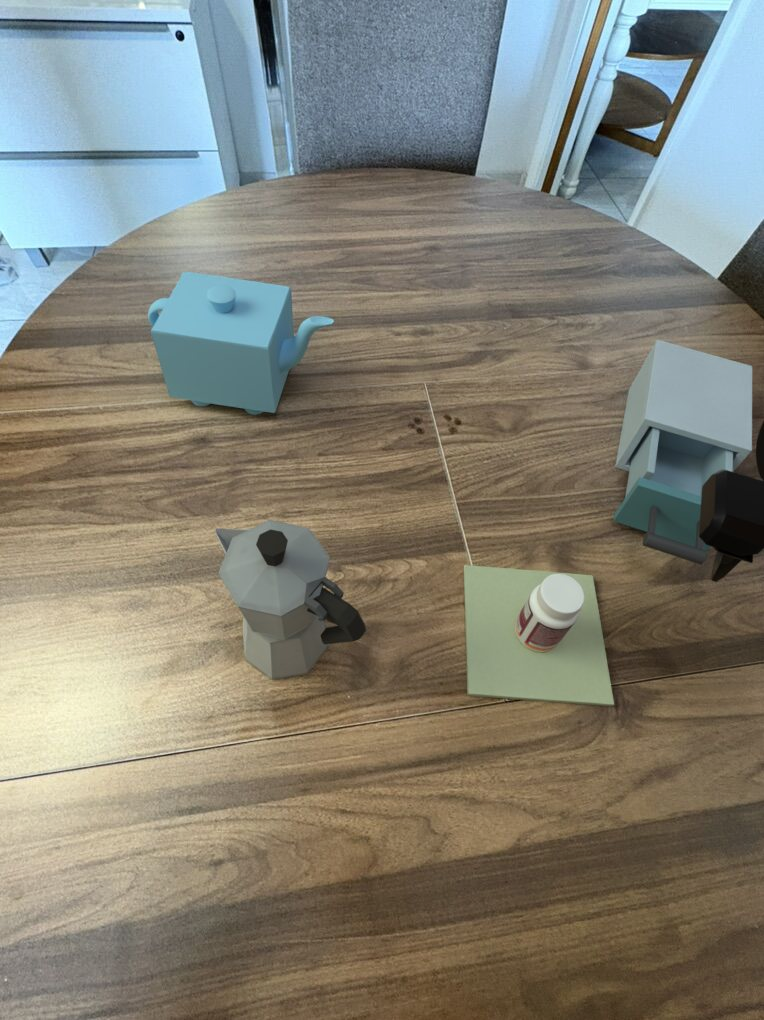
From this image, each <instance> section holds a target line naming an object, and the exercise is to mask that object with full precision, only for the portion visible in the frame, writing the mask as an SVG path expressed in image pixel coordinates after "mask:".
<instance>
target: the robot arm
mask: <svg viewBox="0 0 764 1020" xmlns="http://www.w3.org/2000/svg"><path fill="white" fill-rule="evenodd" d="M755 463H756V467H757V471H758V474H759V476H760V478H761V479H757V478H754V477H751V476H748V475H745V474H742V473H738V472H735V471H734V472H731V471H728V470H723V469H721V470H719V471H717V472H715V473H713V474H712V475H711V476H710V478H709V479H708V480H707V481H706V482H705V484H704V485H703V486H702V495H701V511H700V526H699V537H700V538H701V539H702V541H703V542H704V543H705V544H706V545H709V546H712V547H711V548H712V549H713V550H714V551H715V552H716V553H715V557H714V559H713V560H714V561H713V565H712V569H711V577H710V579H711V582H715V583H717V582H718V581H720V580H722V579H723V578H725V577H726V576H727V575H728V574H729V573H730V572H731V571H732V570H733V569H734V568H735V567H737V566H738V564H740V563H741V562H742V561H743V562H746V563H749V564H753V563H754V555H759V554H760V553H761V552H762V551H763V550H764V420H763V421H762V424H761V426H760V427H759V430H758V434H757V438H756V444H755Z"/></svg>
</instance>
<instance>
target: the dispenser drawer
mask: <svg viewBox="0 0 764 1020" xmlns="http://www.w3.org/2000/svg"><path fill="white" fill-rule="evenodd" d="M721 469H723V470H728V471H731V472H733V451H731V450H728V449H724V448H721V447H718V446H715V445H711V444H708V443H705V442H701V441H698V440H695V439H691V438H688V437H685V436H681V435H678V434H675V433H671V432H668V431H665V430H661V429H658V428H655V427H651V426H649V428H648V429H647V431H646V432H645V434H644V436H643V437H642V439H641V440H640V442H639V444H638V445H637V447H636V448H635V450H634V451H633V453H632V458H631V464H630V471H629V472H628V478H627V484H626V491H625V497H624V499H623V500H622V502H621V503H620V504H619V506H618V508H617V509H616V511H615V512H614V514H613V519H612V520H613V522H614V523H618V524H621V525H623V526H627V527H630V528H632V529H636V530H640V531H643V532H645V534H644V536H643V538H642V547H646V548H650V549H653V550H655V551H659V552H661V553H664V554H668V555H672V556H674V557H677V558H679V559H682V560H686V561H690V562H692V563H695V564H699V565H704V563H705V562H706V560H707V557H708V550H710V549H711V548H713V547H712V546H709V545H706V544H705V543H704V542H703V541H702V539H701V538H700V537H699V526H700V511H701V495H702V486H703V485H704V484H705V482H706V481H707V480H708V479H709V478H710V476H711V475H712V474H713V473H715V472H717V471H719V470H721Z"/></svg>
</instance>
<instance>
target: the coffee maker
mask: <svg viewBox="0 0 764 1020" xmlns="http://www.w3.org/2000/svg"><path fill="white" fill-rule="evenodd" d="M214 533H215V535H216V537H217V540H218V542H219V544H220V546H221V548H222V551H223V553H224V554H225V556H224V558H223V559H222V563H221V565H220V568H219V570H218V576H219V577H220V579H221V581H222V582H223V584H224V586H225V588H226V589H227V591H228V593H229V594H230V595H229V596H231V598H232V600H233V601H234V603H235V605H236V607H237V608H238V609H239V611H240V612H241V614H242V618H243V619H242V627H241V629H242V643H243V655H244V656H243V657H244V661H245V662H247V663H248V665H249V664H250V666H252V667H254V668H255V669H256V670H258V671H259V672H260V673H261V674H263V675H264V676H265V677H267V678H268V679H270V680H271V681H274V680H281V679H285V678H286V679H287V678H292V677H298V676H304V675H308V674H309V673H310V672H311V670H312V669H313V668H314V666H315V665H316V664H317V663H318V661H319V660H320V659H321V658H322V657H323V655H324V654H325V652H326V651H327V650H328V648H329V645H333V644H344V643H353V642H356V641H359V640H361V639H362V638H363V636H364V634H366V632H367V626H366V624H365V622H364V620H363V618H362V616H361V614H360V613H359V611H358V610H357V608H355V606H353V605H352V604H351V603H349V602H348V601H346V600H345V599H343V597H344V593H345V592H344V591H343V590H342V589H341V588H340V587H339V586H338V585H337V584H336V583H335V582H334V581H332V580H331V579H329V578H328V577H327V572H328V570H329V569H328V568H329V565H330V561H331V557H330V556H329V554H328V552H327V551H326V550H325V548H324V547H323V545H322V544H321V542H320V541H319V540H318V539H317V537H316V535H315V534H314V533H313V531H312V530H311V528H310V527H307V526H301V525H297V524H293V523H287V522H284V521H283V522H282V521H279V520H273V519H267V521H264V522H262V523H260V524H258V525H256V526H254V527H252V528H247V529H246V528H245V529H244V528H224V527H223V528H221V527H219V528H218V527H217V528H215V529H214ZM326 621H327V622H329V623H332V624H333V625H334V626H329V627H326Z"/></svg>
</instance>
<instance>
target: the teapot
mask: <svg viewBox="0 0 764 1020" xmlns="http://www.w3.org/2000/svg"><path fill="white" fill-rule="evenodd" d="M292 296H293V295H292V288H291V286H286V285H280V284H273V283H268V282H260V281H254V280H247V279H241V278H234V277H227V276H220V275H213V274H208V273H207V274H206V273H200V272H192V271H186V270H185V271H184V270H183V271H182V274H181V275H180V277H179V280H178V281H177V283H176V285H175V286H174V288H173V290H172V292H171V293H170V295H169V297H161V298H159V299H157V300H154V302H152V304H151V305H150V307H149V309H148V312H147V319H148V322H149V324H150V326H151V327H152V328H151V329H150V335H151V339H152V341H153V344H154V348H155V352H156V355H157V358H158V362H159V365H160V369H161V372H162V376H163V380H164V382H165V386H166V389H167V393H168V396H169V398H173V399H178V400H179V399H180V400H185V401H186V400H187V401H191V402H192V404H193V405H195V406H198V407H207V406H209V405H211V404H212V405H219V406H224V407H225V406H226V407H233V408H238V409H239V408H240V409H244V411H245V412H246V413H248V414H250V415H260V414H262V413H265V412H266V413H272V414H275V413H276V411H277V408H278V405H279V402H280V399H281V396H282V393H283V390H284V387H285V384H286V381H287V378H288V375H289V372H290V370H291V369H293V368H295V367H296V366H297V365H298V364H299V363H301V361H302V359H304V356H305V354H306V351H307V350H308V346H309V344H310V340H311V338H312V337H313V335H314V334H315V332H317V330H319V329H322V328H324V327H328V326H331V325H332V324H334V322H335V320H334V319H333V318H331V317H328V316H323V315H316V316H310V317H308V318H306V319H304V320H303V321H302V322H301V324H300V325H299V327H298V330H297V332H296V334H295V333H294V332H295V331H294V330H295V329H294V314H293V312H294V311H293V297H292ZM159 312H160V314H159ZM294 334H295V335H294Z"/></svg>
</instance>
